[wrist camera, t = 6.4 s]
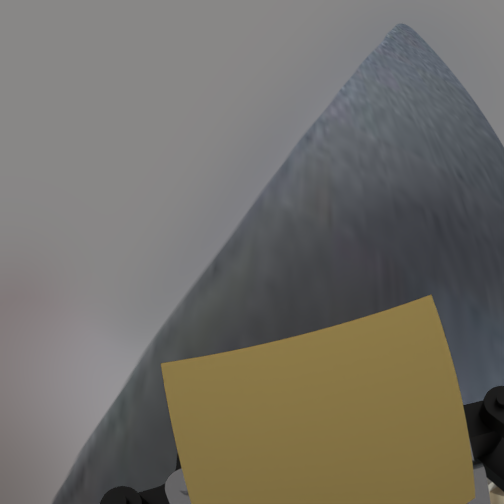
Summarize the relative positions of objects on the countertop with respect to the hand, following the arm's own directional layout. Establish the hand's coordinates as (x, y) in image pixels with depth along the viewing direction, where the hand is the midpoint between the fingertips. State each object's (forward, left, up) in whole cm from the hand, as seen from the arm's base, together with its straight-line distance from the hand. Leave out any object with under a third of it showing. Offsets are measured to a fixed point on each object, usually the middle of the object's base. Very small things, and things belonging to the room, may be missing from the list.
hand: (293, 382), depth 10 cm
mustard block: (+1, -1, -5) cm, 5 cm away
